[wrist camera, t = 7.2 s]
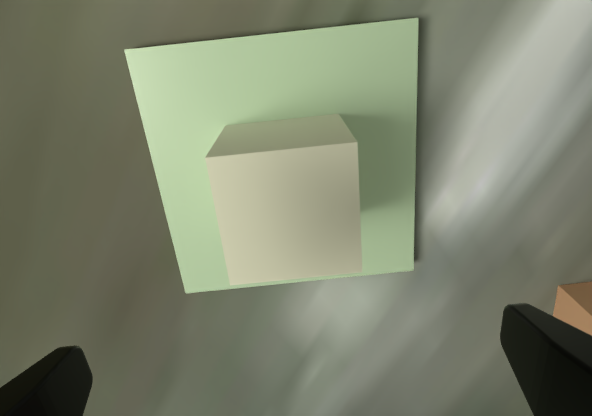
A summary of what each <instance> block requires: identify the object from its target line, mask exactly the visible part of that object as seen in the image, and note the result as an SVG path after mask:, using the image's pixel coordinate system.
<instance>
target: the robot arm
mask: <svg viewBox="0 0 592 416" xmlns="http://www.w3.org/2000/svg"><path fill="white" fill-rule="evenodd" d="M500 340H501V345H502V347H503V350H504V352H505V354H506V356H507V358H508V361H509V363H510V365H511V367H512V369H513V372H514V374H515V376H516V378H517V380H518V382H519V385H520V387H521V389H522V391H523V393H524V396H525V398H526V400H527V402H528V404H529V406H530V408H531V410H532V412H533V415H534V416H592V335H590V334H588V333H586V332H584V331H582V330H580V329H578V328H576V327H574V326H572V325H570V324H568V323H566V322H564V321H562V320H560V319H558V318H556V317H554V316H552V315H550V314H548V313H546V312H544V311H542V310H540V309H538V308H536V307H534V306H532V305H529V304H527V303H519V304H509V305H507V306H506V307H505V308H504V311H503V318H502V325H501V332H500ZM91 387H92V373H91V370H90V368H89V365H88V363H87V360H86V358H85V355H84V353H83V350H82V349H81V348H80V347H79V346H66V347H59V348H57V349H55V350H54V351H52V352H51V353H50V354H48V355H47V356H45V357H44V358H42V359H41V360H40V361H38V362H37V363H35V364H34V365H32V366H31V367H29V368H28V369H27V370H25V371H24V372H22V373H21V374H19V375H18V376H17V377H15V378H14V379H12V380H11V381H9V382H8V383H6V384H5V385H4V386H2V387H1V388H0V416H83V413H84V410H85V407H86V403H87V400H88V397H89V393H90V390H91Z"/></svg>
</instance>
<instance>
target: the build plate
mask: <svg viewBox="0 0 592 416" xmlns="http://www.w3.org/2000/svg"><path fill="white" fill-rule="evenodd" d="M124 51H125V55H126V59H127V63H128V67H129V71H130V75H131V79H132V83H133V86H134V90H135V94H136V98H137V102H138V106H139V110H140V114H141V118H142V122H143V126H144V130H145V134H146V138H147V142H148V146H149V150H150V154H151V158H152V162H153V166H154V170H155V174H156V177H157V181H158V185H159V189H160V193H161V197H162V201H163V205H164V209H165V213H166V217H167V221H168V225H169V229H170V233H171V237H172V241H173V245H174V249H175V253H176V257H177V261H178V265H179V269H180V272H181V276H182V280H183V284H184V288H185V292H186V293H194V292H204V291H214V290H224V289H234V288H244V287H254V286H263V285H273V284H283V283H293V282H303V281H313V280H323V279H333V278H343V277H353V276H363V275H373V274H383V273H393V272H403V271H413V270H414V219H415V169H416V119H417V68H418V18H411V19H401V20H392V21H383V22H374V23H365V24H356V25H346V26H337V27H328V28H319V29H310V30H301V31H292V32H282V33H273V34H264V35H255V36H246V37H237V38H228V39H218V40H209V41H200V42H191V43H182V44H173V45H164V46H154V47H145V48H136V49H127V50H124ZM330 114H339V115H340V117H341V118H342V120H343V121H344V123H345V124H346V126H347V127H348V129H349V130H350V132H351V133H352V135H353V136H354V138H355V139H356V141H357V143H358V169H359V195H360V221H361V247H362V272H360V273H350V274H340V275H330V276H320V277H310V278H300V279H290V280H280V281H270V282H260V283H250V284H240V285H230V283H229V277H228V272H227V267H226V262H225V257H224V252H223V247H222V242H221V237H220V232H219V226H218V221H217V216H216V211H215V206H214V201H213V196H212V191H211V186H210V181H209V175H208V170H207V165H206V160H205V157H206V156H207V154H208V152H209V151H210V149H211V148H212V146H213V144H214V143H215V141H216V140H217V138H218V136H219V135H220V133H221V132H222V130H223V128H224V127H225V125H235V124H244V123H254V122H263V121H273V120H283V119H292V118H302V117H311V116H321V115H330Z"/></svg>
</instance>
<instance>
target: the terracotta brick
mask: <svg viewBox="0 0 592 416" xmlns="http://www.w3.org/2000/svg"><path fill="white" fill-rule="evenodd" d="M553 316H554V317H556V318H558V319H560V320H562V321H564V322H566V323H568V324H570V325H572V326H574V327H576V328H578V329H580V330H582V331H584V332H586V333H588V334H590V335H592V282H585V283H576V284H566V285H558V291H557V296H556V302H555V308H554V313H553Z"/></svg>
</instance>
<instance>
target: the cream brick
mask: <svg viewBox="0 0 592 416" xmlns="http://www.w3.org/2000/svg"><path fill="white" fill-rule="evenodd" d="M205 160H206V165H207V170H208V175H209V181H210V186H211V191H212V196H213V201H214V206H215V211H216V216H217V221H218V226H219V232H220V237H221V242H222V247H223V252H224V257H225V262H226V267H227V272H228V277H229V283H230V285H240V284H250V283H260V282H270V281H280V280H290V279H300V278H310V277H320V276H330V275H340V274H350V273H360V272H362V247H361V221H360V195H359V169H358V143H357V141H356V139H355V138H354V136H353V135H352V133H351V132H350V130H349V129H348V127H347V126H346V124H345V123H344V121H343V120H342V118H341V117H340V115H339V114H330V115H321V116H311V117H302V118H292V119H283V120H273V121H263V122H254V123H244V124H235V125H225V127H224V128H223V130H222V132H221V133H220V135H219V136H218V138H217V140H216V141H215V143H214V144H213V146H212V148H211V149H210V151H209V152H208V154H207V156H206V157H205Z"/></svg>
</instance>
